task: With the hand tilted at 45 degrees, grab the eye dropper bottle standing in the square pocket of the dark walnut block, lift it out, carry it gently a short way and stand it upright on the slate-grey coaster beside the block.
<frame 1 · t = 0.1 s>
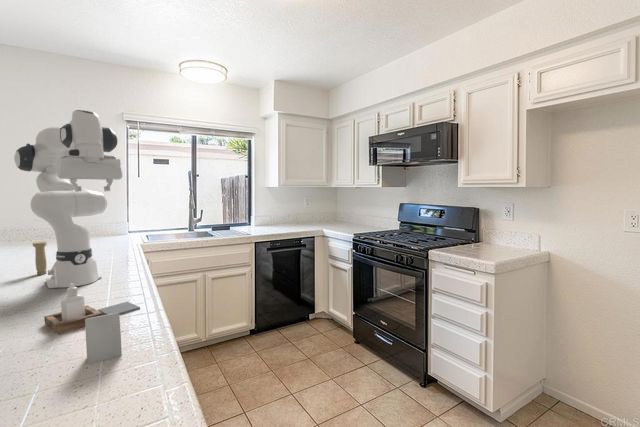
hand: (93, 191, 122), 39 cm above the countertop, tool pointing down, fingers open, 8 cm apart
handle: (41, 274, 153), on the countertop
white rectangular box: (104, 357, 79), on the countertop
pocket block: (74, 322, 98), on the countertop
coaster: (119, 310, 108), on the countertop
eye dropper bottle: (74, 323, 98), resting in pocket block
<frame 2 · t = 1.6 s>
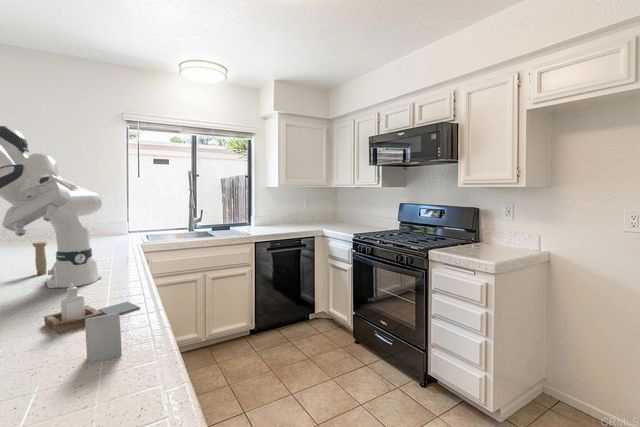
hand: (34, 227, 96), 29 cm above the countertop, tool tilted 45°, fingers open, 8 cm apart
nothing on the countertop moved.
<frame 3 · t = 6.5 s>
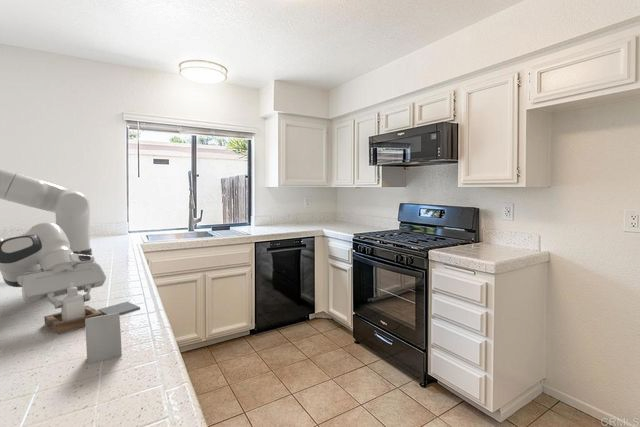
hand: (73, 303, 97), 6 cm above the countertop, tool tilted 45°, fingers closed on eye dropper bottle, 6 cm apart
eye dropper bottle: (74, 323, 98), resting in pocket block, touching gripper
everything else where it was.
when the fingers open (12 cm above the countertop, at t = 14.1 s): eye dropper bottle drops 4 cm, resting on coaster.
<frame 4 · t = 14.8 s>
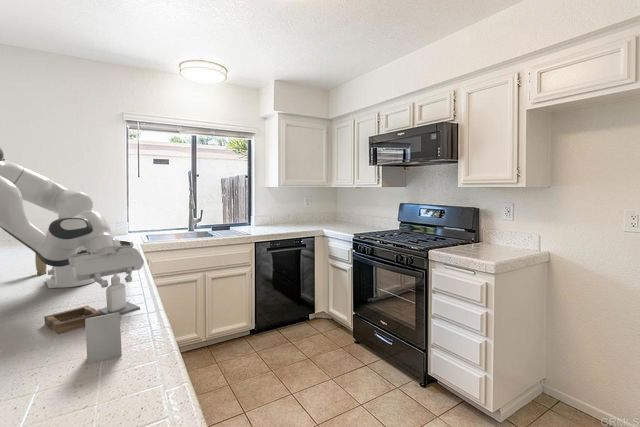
hand: (117, 283, 106), 9 cm above the countertop, tool tilted 45°, fingers open, 6 cm apart
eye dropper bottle: (116, 309, 107), resting on coaster, touching gripper
everything else where it was.
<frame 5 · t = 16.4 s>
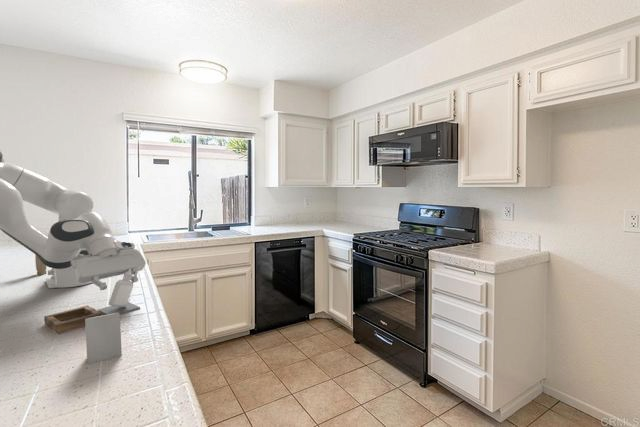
hand: (120, 285, 107), 8 cm above the countertop, tool tilted 45°, fingers open, 8 cm apart
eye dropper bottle: (117, 306, 107), point 1 cm above the countertop, touching coaster, gripper
everything else where it was.
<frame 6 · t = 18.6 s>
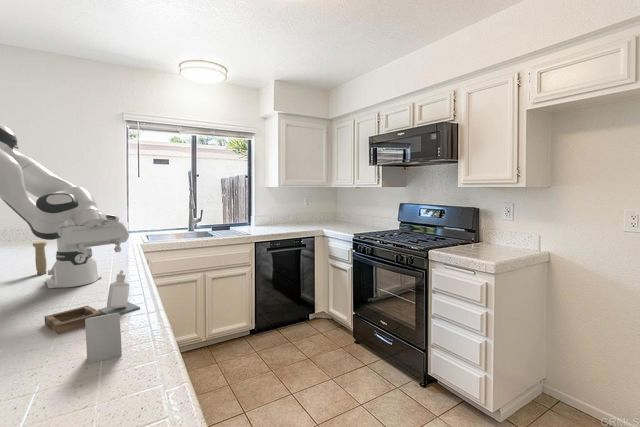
hand: (104, 253, 114), 17 cm above the countertop, tool tilted 45°, fingers open, 8 cm apart
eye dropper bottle: (116, 307, 107), point 1 cm above the countertop, touching coaster
everything else where it was.
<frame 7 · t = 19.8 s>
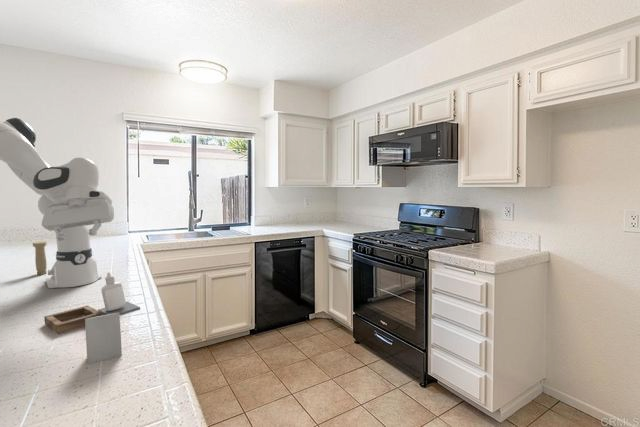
hand: (76, 237, 105), 24 cm above the countertop, tool tilted 35°, fingers open, 8 cm apart
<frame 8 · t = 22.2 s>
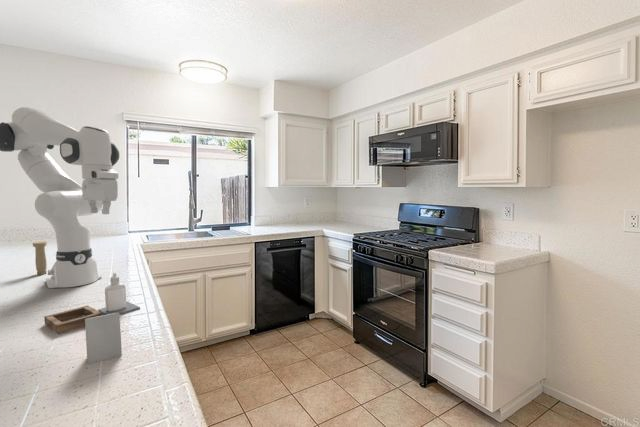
hand: (99, 213, 115), 31 cm above the countertop, tool pointing down, fingers open, 8 cm apart
at the end: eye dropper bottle inside the target area on the coaster (0.9 cm from its centre), point 0.4 cm above the coaster's base; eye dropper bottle tilted 0°; the gripper is holding nothing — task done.
